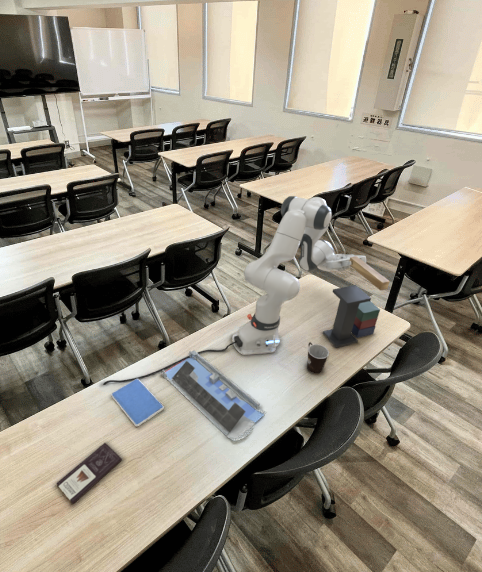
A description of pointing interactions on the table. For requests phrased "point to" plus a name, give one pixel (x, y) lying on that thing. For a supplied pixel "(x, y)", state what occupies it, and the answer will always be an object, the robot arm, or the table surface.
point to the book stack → (365, 319)
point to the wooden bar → (369, 273)
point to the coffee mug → (316, 357)
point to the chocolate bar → (88, 473)
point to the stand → (346, 315)
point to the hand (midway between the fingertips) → (356, 262)
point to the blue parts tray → (215, 396)
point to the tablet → (137, 402)
